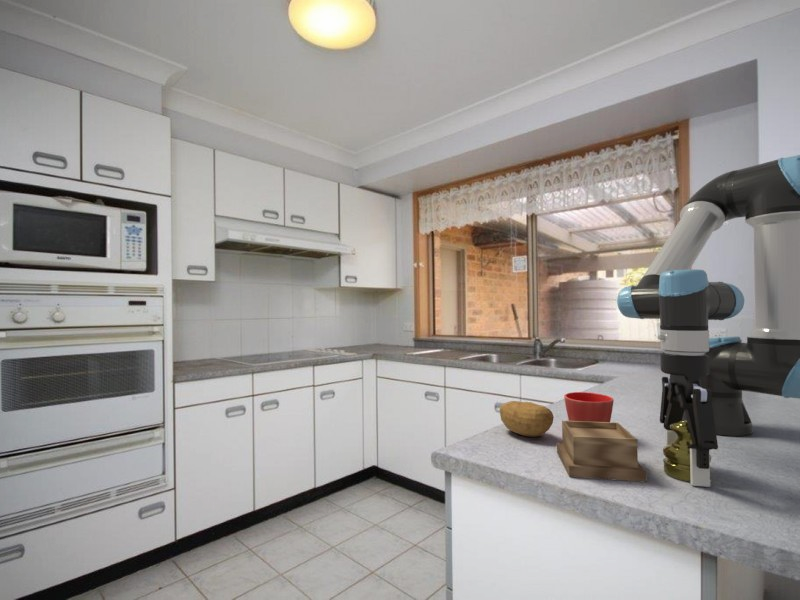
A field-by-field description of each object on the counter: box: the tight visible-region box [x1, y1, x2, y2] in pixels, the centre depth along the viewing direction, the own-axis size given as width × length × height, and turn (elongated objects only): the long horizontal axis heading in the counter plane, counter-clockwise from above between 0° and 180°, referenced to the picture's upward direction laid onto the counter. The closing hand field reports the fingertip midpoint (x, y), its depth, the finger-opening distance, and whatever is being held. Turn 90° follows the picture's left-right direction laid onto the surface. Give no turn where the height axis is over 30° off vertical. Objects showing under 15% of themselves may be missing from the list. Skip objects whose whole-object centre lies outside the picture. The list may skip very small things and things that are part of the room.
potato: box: [499, 400, 554, 438], centre depth 101 cm, size 10×14×8 cm
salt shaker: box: [662, 420, 713, 483], centre depth 76 cm, size 7×7×10 cm
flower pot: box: [563, 391, 614, 422], centre depth 99 cm, size 11×11×10 cm
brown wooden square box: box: [556, 419, 647, 482], centre depth 81 cm, size 13×13×7 cm
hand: (686, 473), depth 76 cm, fingers open, 9 cm apart
